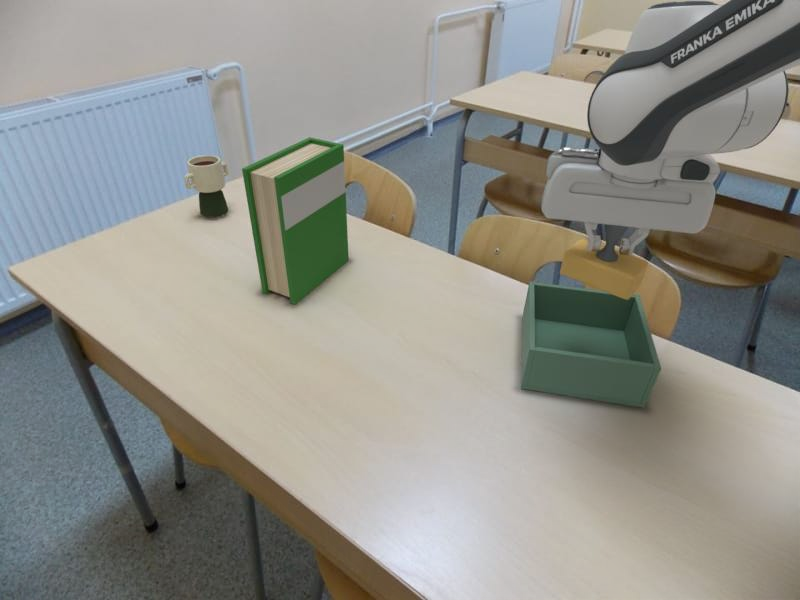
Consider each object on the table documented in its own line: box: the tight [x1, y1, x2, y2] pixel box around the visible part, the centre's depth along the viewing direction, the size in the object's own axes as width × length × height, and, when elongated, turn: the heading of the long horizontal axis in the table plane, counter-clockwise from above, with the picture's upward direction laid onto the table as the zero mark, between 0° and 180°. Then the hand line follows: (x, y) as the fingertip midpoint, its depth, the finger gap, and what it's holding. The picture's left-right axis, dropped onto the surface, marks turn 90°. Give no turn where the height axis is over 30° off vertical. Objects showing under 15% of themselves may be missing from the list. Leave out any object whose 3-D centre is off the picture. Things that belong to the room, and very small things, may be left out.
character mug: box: [183, 154, 229, 218], centre depth 117 cm, size 11×7×13 cm, turn 142°
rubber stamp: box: [559, 224, 649, 300], centre depth 70 cm, size 10×6×12 cm, turn 50°
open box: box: [520, 281, 662, 409], centre depth 81 cm, size 18×18×8 cm
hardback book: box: [241, 136, 350, 305], centre depth 94 cm, size 18×7×24 cm, turn 151°
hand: (608, 251), depth 71 cm, fingers closed on rubber stamp, 3 cm apart
